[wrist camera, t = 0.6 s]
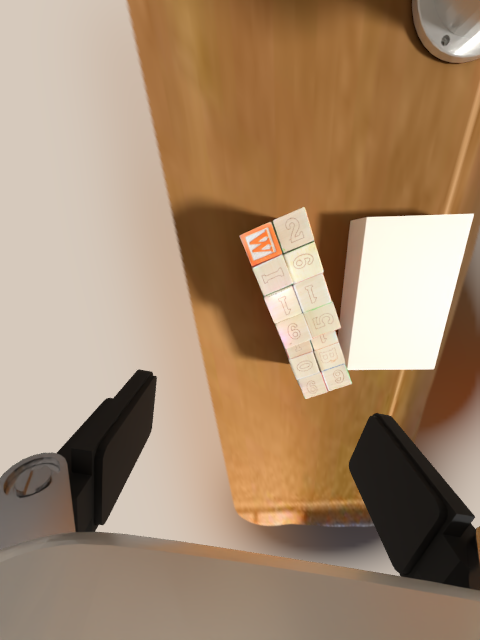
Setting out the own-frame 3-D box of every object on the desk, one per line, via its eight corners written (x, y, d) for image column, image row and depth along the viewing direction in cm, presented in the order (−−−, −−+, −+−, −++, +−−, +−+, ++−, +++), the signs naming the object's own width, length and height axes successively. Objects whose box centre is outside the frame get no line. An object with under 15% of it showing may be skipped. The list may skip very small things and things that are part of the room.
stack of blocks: (328, 352, 38) (364, 400, 26) (290, 364, 39) (309, 417, 27) (284, 218, 32) (305, 204, 20) (241, 237, 33) (238, 234, 21)
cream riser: (439, 218, 32) (473, 213, 27) (410, 353, 38) (434, 369, 33) (349, 220, 32) (366, 217, 27) (334, 354, 38) (347, 369, 34)
